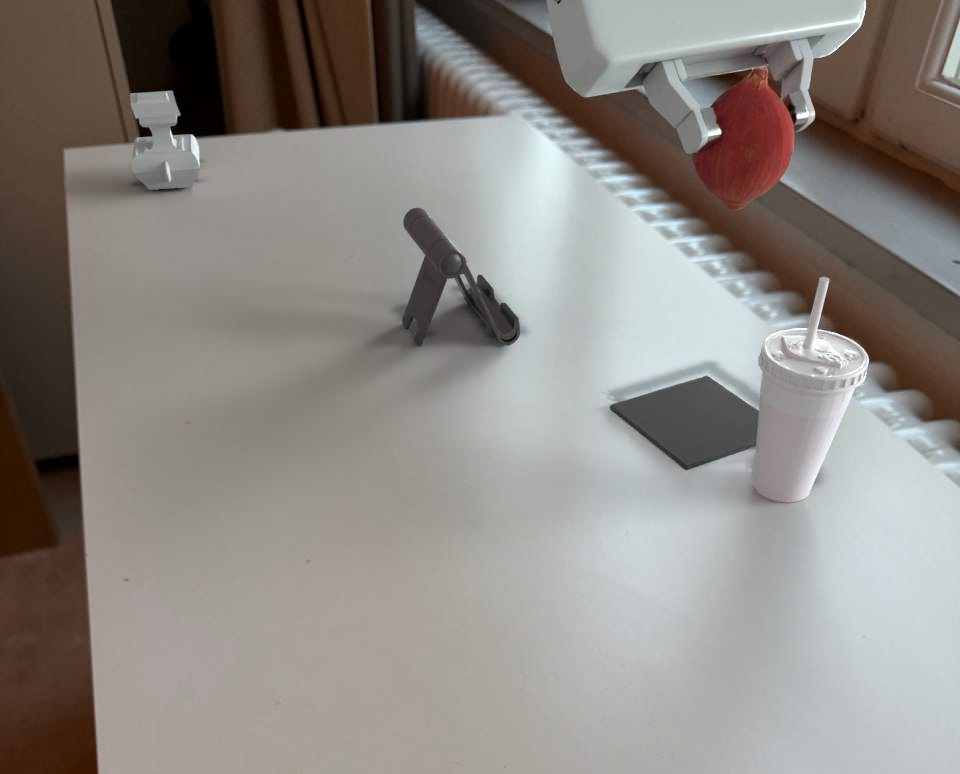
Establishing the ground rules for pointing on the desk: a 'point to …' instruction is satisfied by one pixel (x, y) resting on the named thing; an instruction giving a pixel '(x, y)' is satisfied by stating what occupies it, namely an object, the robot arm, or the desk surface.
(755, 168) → the onion
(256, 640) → the desk surface
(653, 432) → the coaster
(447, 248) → the tablet stand
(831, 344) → the smoothie
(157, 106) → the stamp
